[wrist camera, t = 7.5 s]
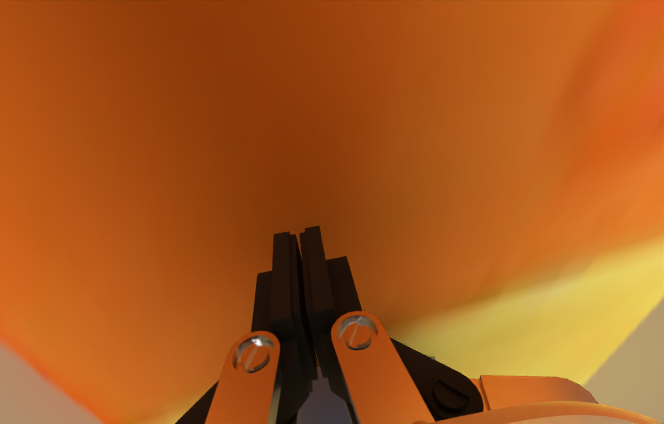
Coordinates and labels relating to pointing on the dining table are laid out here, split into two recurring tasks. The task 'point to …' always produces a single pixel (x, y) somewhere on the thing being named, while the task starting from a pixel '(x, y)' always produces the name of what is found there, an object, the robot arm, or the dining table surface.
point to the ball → (324, 405)
